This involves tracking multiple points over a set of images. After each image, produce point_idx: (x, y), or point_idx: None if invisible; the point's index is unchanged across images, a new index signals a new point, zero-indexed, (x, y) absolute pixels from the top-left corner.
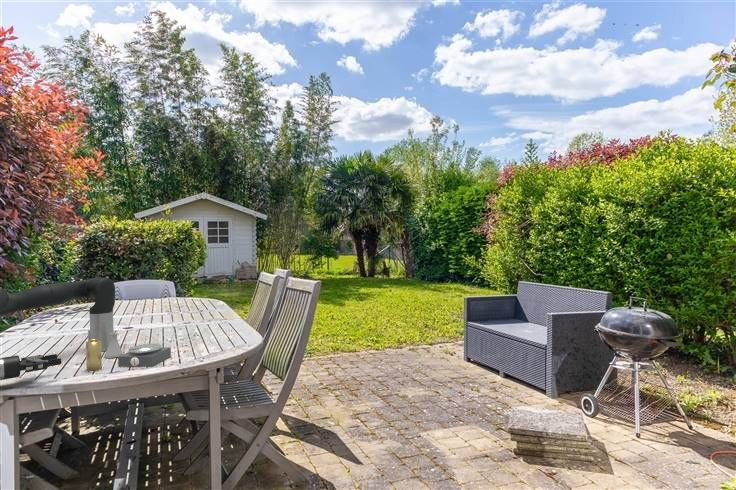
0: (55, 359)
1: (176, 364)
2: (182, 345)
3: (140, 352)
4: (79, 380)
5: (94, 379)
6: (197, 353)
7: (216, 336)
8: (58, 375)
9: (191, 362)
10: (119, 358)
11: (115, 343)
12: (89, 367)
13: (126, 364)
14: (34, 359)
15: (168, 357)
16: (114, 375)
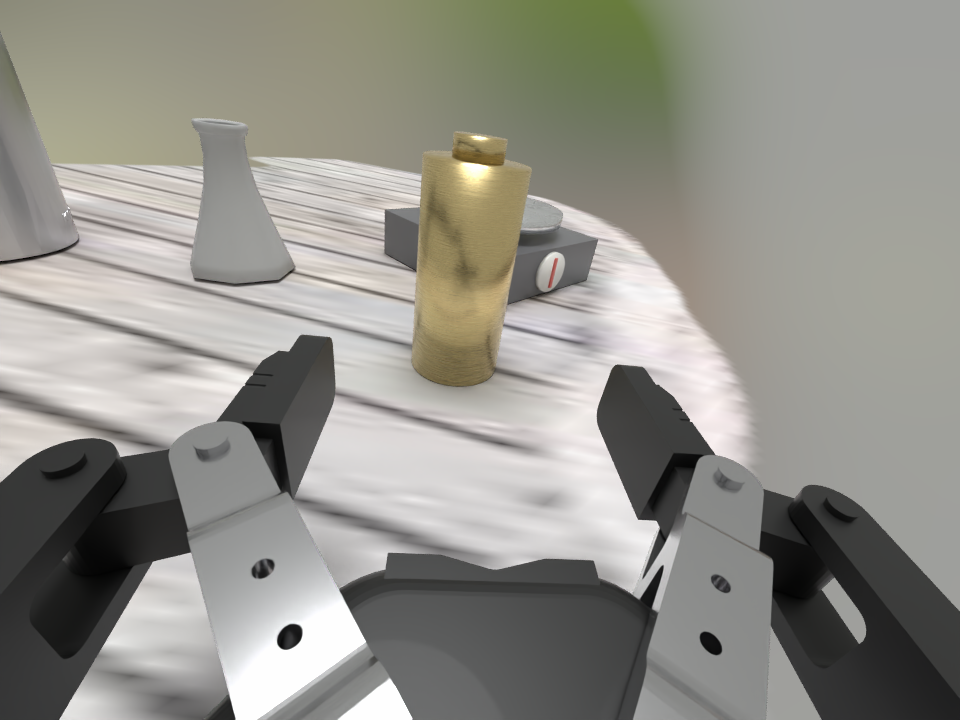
0: (664, 399)
1: (604, 259)
2: (360, 200)
3: (557, 227)
4: None
5: (692, 409)
6: None
7: (348, 172)
8: (394, 520)
9: (605, 247)
10: None
11: (258, 191)
12: (485, 357)
13: (518, 291)
14: (658, 631)
15: None
16: (653, 353)
